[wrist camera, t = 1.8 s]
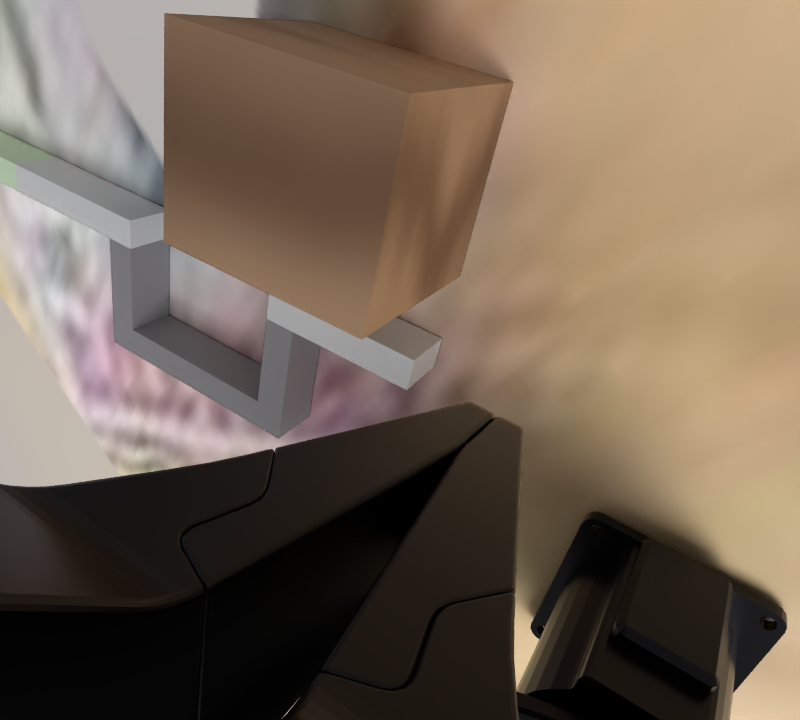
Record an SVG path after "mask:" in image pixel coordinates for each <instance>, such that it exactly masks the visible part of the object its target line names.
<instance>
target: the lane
mask: <svg viewBox="0 0 800 720" xmlns="http://www.w3.org/2000/svg"><path fill="white" fill-rule="evenodd" d="M15 172H16V180H17V188H18V191H19V192H21V193H22V194H24V195H26V196H28V197H30V198H32V199H34V200H36V201H38V202H40V203H42V204H44V205H46V206H48V207H50V208H52V209H54V210H56V211H58V212H60V213H62V214H63V215H65V216H67V217H69V218H71V219H73V220H75V221H77V222H79V223H81V224H83V225H85V226H87V227H89V228H91V229H93V230H95V231H97V232H99V233H101V234H102V235H104V236H106V237H108V238H110V239H112V240H114V241H116V242H118V243H120V244H122V245H124V246H126V247H128V248H130V249H132V248H136V247H139V246H142V245H146V244H149V243H153V242H156V241H159V240H163V239H164V208H163V207H161V206H159V205H157V204H155V203H153V202H151V201H149V200H146V199H144V198H142V197H140V196H138V195H136V194H134V193H131V192H129V191H127V190H125V189H123V188H121V187H119V186H117V185H114V184H112V183H110V182H108V181H106V180H104V179H102V178H100V177H97V176H95V175H93V174H91V173H89V172H87V171H85V170H83V169H80V168H78V167H76V166H74V165H72V164H70V163H68V162H66V161H63V160H61V159H59V158H52V159H45V160H38V161H31V162H25V163H18V164H15ZM266 319H268V320H270V321H272V322H274V323H276V324H278V325H280V326H282V327H284V328H286V329H288V330H290V331H292V332H294V333H296V334H298V335H300V336H302V337H304V338H305V339H307V340H309V341H311V342H313V343H315V344H317V345H319V346H321V347H323V348H325V349H327V350H329V351H331V352H333V353H335V354H337V355H339V356H341V357H343V358H344V359H346V360H348V361H350V362H352V363H354V364H356V365H358V366H360V367H362V368H364V369H366V370H368V371H370V372H372V373H374V374H376V375H378V376H380V377H382V378H384V379H385V380H387V381H389V382H391V383H393V384H395V385H397V386H399V387H401V388H403V389H405V390H407V389H409V388H410V387H411V386H412V385H413V384H415V383H416V382H417V381H418V380H419V379H420V378H422V377H423V376H424V375H425V374H426V373H428V372H429V371H430V370H431V369H432V368H433V367H434V366H435V362H436V358H437V355H438V351H439V348H440V344H441V340H442V338H440V337H438V336H436V335H434V334H431V333H429V332H427V331H425V330H423V329H421V328H419V327H417V326H414V325H412V324H410V323H408V322H406V321H404V320H402V319H400V318H397V317H396V318H395V319H393V320H392V321H390V322H389V323H387V324H385V325H384V326H382V327H381V328H379V329H378V330H376V331H375V332H373V333H372V334H370V335H369V336H367V337H366V338H364V339H362V340H361V339H359V338H357V337H355V336H353V335H351V334H349V333H347V332H345V331H343V330H341V329H339V328H337V327H335V326H333V325H331V324H329V323H327V322H324V321H322V320H320V319H318V318H316V317H314V316H312V315H310V314H308V313H306V312H304V311H302V310H300V309H298V308H296V307H294V306H292V305H290V304H288V303H286V302H284V301H282V300H280V299H278V298H276V297H274V296H272V295H270V294H269V298H268V307H267V317H266Z"/></svg>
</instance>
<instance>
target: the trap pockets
mask: <svg viewBox="0 0 800 720" xmlns="http://www.w3.org/2000/svg"><path fill="white" fill-rule="evenodd" d="M110 253H111V276H112V299H113V323H114V342H115V343H117V344H119V345H120V346H122V347H124V348H126V349H127V350H129V351H131V352H132V353H134V354H136V355H137V356H139V357H141V358H142V359H144V360H146V361H148V362H149V363H151V364H153V365H154V366H156V367H158V368H159V369H161V370H163V371H165V372H166V373H168V374H170V375H171V376H173V377H175V378H176V379H178V380H180V381H182V382H183V383H185V384H187V385H188V386H190V387H192V388H193V389H195V390H197V391H199V392H200V393H202V394H204V395H205V396H207V397H209V398H210V399H212V400H214V401H216V402H217V403H219V404H221V405H222V406H224V407H226V408H227V409H229V410H231V411H232V412H234V413H236V414H238V415H239V416H241V417H243V418H244V419H246V420H248V421H249V422H251V423H253V424H255V425H256V426H258V427H260V428H261V429H263V430H265V431H266V432H268V433H270V434H272V435H273V436H275V437H277V438H278V439H279V438H280V437H281V436H283V435H284V434H285V433H287V432H288V431H290V430H291V429H292V428H294V427H295V426H296V425H298V424H299V423H300V422H302V421H303V420H305V419H306V418H307V417H309V414H310V408H311V401H312V395H313V389H314V382H315V376H316V370H317V364H318V357H319V351H320V346H319V345H317V344H315V343H313V342H311V341H309V340H307V339H305V338H304V337H302V336H300V335H298V334H296V333H294V332H292V331H290V330H288V329H286V328H284V327H282V326H280V325H278V324H276V323H274V322H272V321H270V320H268V319H266V327H265V336H264V346H263V356H262V365H260V364H258V363H256V362H254V361H252V360H251V359H249V358H247V357H245V356H243V355H241V354H240V353H238V352H236V351H234V350H232V349H231V348H229V347H227V346H225V345H223V344H221V343H220V342H218V341H216V340H214V339H212V338H210V337H209V336H207V335H205V334H203V333H201V332H199V331H198V330H196V329H194V328H192V327H190V326H188V325H187V324H185V323H183V322H181V321H179V320H177V319H176V318H174V317H172V316H170V315H169V253H170V245H168V244H166V243H164V239H163V240H159V241H156V242H153V243H149V244H146V245H142V246H139V247H136V248H132V249H130V248H128V247H126V246H124V245H122V244H120V243H118V242H116V241H114V240H112V239H110Z"/></svg>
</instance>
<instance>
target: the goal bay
mask: <svg viewBox="0 0 800 720" xmlns="http://www.w3.org/2000/svg"><path fill="white" fill-rule="evenodd" d="M52 158H57V157H55V156H53V155H51V154H49V153H46V152H44V151H42V150H40V149H38V148H36V147H34V146H32V145H29V144H27V143H25V142H23V141H21V140H19V139H17V138H14V137H12V136H10V135H8V134H6V133H4V132H2V131H0V182H1V183H3V184H5V185H7V186H9V187H11V188H13V189H15V190H17V191H18V188H17V180H16V172H15V164H18V163H25V162H31V161H38V160H45V159H52Z"/></svg>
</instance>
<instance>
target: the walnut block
mask: <svg viewBox="0 0 800 720" xmlns="http://www.w3.org/2000/svg"><path fill="white" fill-rule="evenodd" d="M164 28H165V29H164V30H165V32H164V33H165V35H164V38H165V39H164V52H165V53H164V243H166V244H168V245H170V246H172V247H174V248H176V249H178V250H180V251H182V252H184V253H186V254H188V255H190V256H192V257H194V258H196V259H199V260H201V261H203V262H205V263H207V264H209V265H211V266H213V267H215V268H217V269H219V270H221V271H223V272H225V273H227V274H229V275H231V276H233V277H235V278H237V279H239V280H241V281H243V282H245V283H247V284H249V285H251V286H253V287H255V288H257V289H259V290H262V291H264V292H266V293H268V294H270V295H272V296H274V297H276V298H278V299H280V300H282V301H284V302H286V303H288V304H290V305H292V306H294V307H296V308H298V309H300V310H302V311H304V312H306V313H308V314H310V315H312V316H314V317H316V318H318V319H320V320H322V321H324V322H327V323H329V324H331V325H333V326H335V327H337V328H339V329H341V330H343V331H345V332H347V333H349V334H351V335H353V336H355V337H357V338H359V339H361V340H362V339H364V338H366V337H367V336H369V335H370V334H372V333H373V332H375V331H376V330H378V329H379V328H381V327H382V326H384V325H385V324H387V323H389V322H390V321H392V320H393V319H395V318H396V317H398V316H399V315H401V314H402V313H404V312H405V311H407V310H408V309H410V308H411V307H413V306H415V305H416V304H418V303H419V302H421V301H422V300H424V299H425V298H427V297H428V296H430V295H431V294H433V293H434V292H436V291H438V290H439V289H441V288H442V287H444V286H445V285H447V284H448V283H450V282H451V281H453V280H454V279H456V278H457V277H459V276H460V274H461V270H462V267H463V263H464V260H465V256H466V252H467V249H468V245H469V242H470V238H471V234H472V231H473V227H474V223H475V220H476V216H477V213H478V209H479V205H480V202H481V198H482V194H483V191H484V187H485V184H486V180H487V176H488V173H489V169H490V165H491V162H492V158H493V155H494V151H495V147H496V144H497V140H498V137H499V133H500V129H501V126H502V122H503V118H504V115H505V111H506V108H507V104H508V100H509V97H510V93H511V89H512V86H513V82H512V81H509V80H505V79H502V78H499V77H495V76H492V75H489V74H485V73H482V72H479V71H475V70H472V69H469V68H465V67H462V66H459V65H455V64H452V63H449V62H445V61H442V60H439V59H435V58H432V57H429V56H425V55H422V54H419V53H415V52H412V51H409V50H405V49H402V48H399V47H395V46H392V45H389V44H385V43H382V42H379V41H375V40H372V39H369V38H365V37H362V36H359V35H355V34H352V33H349V32H345V31H342V30H339V29H335V28H332V27H329V26H325V25H322V24H319V23H315V22H312V21H294V20H276V19H258V18H239V17H222V16H203V15H186V14H168V13H165V26H164Z"/></svg>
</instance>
